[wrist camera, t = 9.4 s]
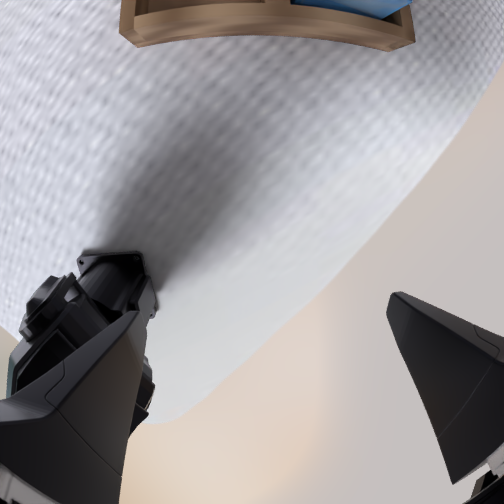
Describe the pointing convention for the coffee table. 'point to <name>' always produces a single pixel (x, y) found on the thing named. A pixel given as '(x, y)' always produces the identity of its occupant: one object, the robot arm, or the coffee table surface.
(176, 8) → the wooden divided tray
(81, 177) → the coffee table surface
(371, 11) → the perfume bottle
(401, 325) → the robot arm
